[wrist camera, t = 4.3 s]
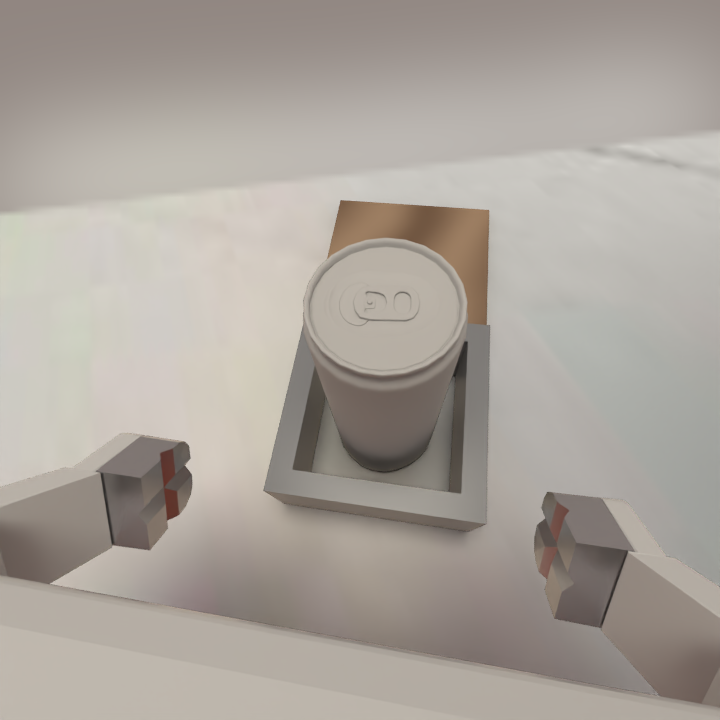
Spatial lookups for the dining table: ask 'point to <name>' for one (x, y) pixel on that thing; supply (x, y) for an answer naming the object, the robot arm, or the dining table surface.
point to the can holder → (379, 499)
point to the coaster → (426, 239)
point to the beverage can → (385, 345)
